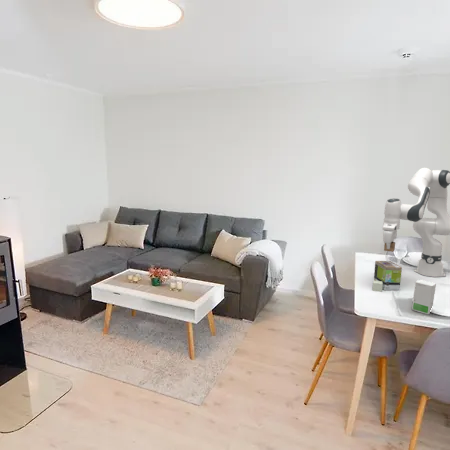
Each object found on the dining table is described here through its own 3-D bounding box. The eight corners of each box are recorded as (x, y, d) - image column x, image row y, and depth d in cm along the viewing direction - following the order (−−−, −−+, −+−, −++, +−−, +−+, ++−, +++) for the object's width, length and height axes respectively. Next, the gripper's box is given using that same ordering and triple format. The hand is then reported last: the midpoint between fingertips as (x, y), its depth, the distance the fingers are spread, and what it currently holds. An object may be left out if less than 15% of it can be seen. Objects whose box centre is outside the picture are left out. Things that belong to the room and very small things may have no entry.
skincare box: (411, 310, 177) (414, 281, 174) (415, 306, 182) (418, 278, 179) (429, 315, 171) (432, 285, 169) (433, 311, 176) (436, 282, 173)
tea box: (400, 290, 205) (402, 267, 202) (383, 290, 205) (385, 267, 202) (388, 282, 220) (390, 260, 217) (373, 282, 220) (374, 260, 217)
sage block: (372, 288, 209) (373, 280, 208) (381, 289, 207) (382, 281, 207) (372, 290, 205) (373, 282, 204) (382, 291, 203) (382, 284, 202)
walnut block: (385, 249, 212) (386, 241, 211) (394, 250, 209) (395, 242, 208) (383, 250, 208) (384, 242, 207) (392, 251, 205) (393, 243, 204)
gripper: (389, 222, 216) (387, 244, 218) (382, 227, 199) (380, 250, 202) (400, 223, 212) (398, 245, 214) (393, 228, 196) (391, 251, 198)
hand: (389, 247), depth 208 cm, fingers closed on walnut block, 5 cm apart
